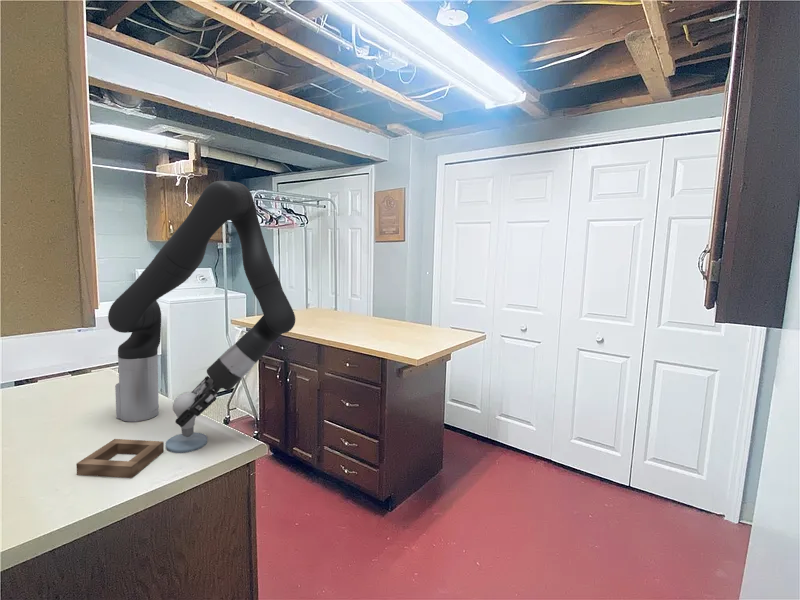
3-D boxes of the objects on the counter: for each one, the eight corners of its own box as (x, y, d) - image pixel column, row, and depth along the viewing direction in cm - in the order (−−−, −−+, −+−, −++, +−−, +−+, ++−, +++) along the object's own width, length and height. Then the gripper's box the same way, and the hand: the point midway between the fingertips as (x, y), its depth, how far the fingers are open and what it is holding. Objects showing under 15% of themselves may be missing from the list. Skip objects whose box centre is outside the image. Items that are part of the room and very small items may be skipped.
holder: (76, 475, 88) (76, 463, 88) (114, 449, 100) (114, 438, 99) (132, 478, 88) (131, 466, 88) (163, 451, 99) (163, 441, 99)
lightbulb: (207, 435, 105) (206, 391, 103) (183, 444, 99) (182, 399, 98) (191, 429, 108) (190, 387, 106) (168, 438, 102) (166, 393, 101)
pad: (157, 451, 99) (157, 447, 99) (178, 435, 108) (178, 431, 108) (196, 454, 99) (196, 449, 99) (213, 437, 108) (213, 433, 108)
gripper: (219, 350, 111) (168, 399, 107) (221, 364, 98) (163, 421, 94) (240, 368, 114) (192, 417, 110) (246, 384, 101) (190, 440, 97)
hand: (179, 418), depth 102 cm, fingers closed on lightbulb, 5 cm apart
